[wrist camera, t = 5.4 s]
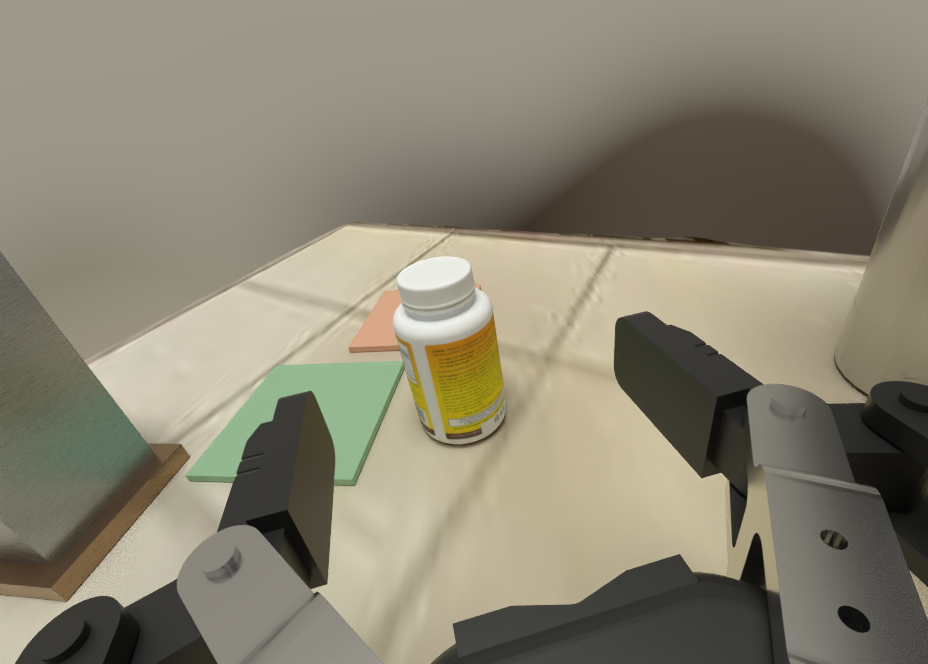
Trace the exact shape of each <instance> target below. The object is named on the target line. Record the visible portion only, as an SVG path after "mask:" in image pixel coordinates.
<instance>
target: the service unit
mask: <svg viewBox="0 0 928 664" xmlns="http://www.w3.org/2000/svg"><path fill="white" fill-rule="evenodd" d="M189 457H190V456H189V455H188V453H187V452H186V450H185V449H184V448H183V446H182V445H181V444H147V443H146V441H145V440H144V439H143V437H142V436H141V435H140V433H139V432H138V431H137V430H136V428H135V427H134V426H133V424H132V423H131V422H130V420H129V419H128V418H127V416H126V415H125V414H124V413H123V411H122V410H121V409H120V407H119V406H118V405H117V403H116V402H115V401H114V399H113V398H112V397H111V396H110V394H109V393H108V392H107V390H106V389H105V388H104V386H103V385H102V384H101V382H100V381H99V380H98V379H97V377H96V376H95V375H94V373H93V372H92V371H91V369H90V368H89V367H88V366H87V364H86V363H85V362H84V360H83V359H82V358H81V356H80V355H79V354H78V352H77V351H76V350H75V349H74V347H73V346H72V345H71V343H70V342H69V341H68V339H67V338H66V337H65V335H64V334H63V333H62V332H61V330H60V329H59V328H58V326H57V325H56V324H55V323H54V321H53V320H52V319H51V317H50V316H49V315H48V313H47V312H46V311H45V309H44V308H43V307H42V305H41V304H40V303H39V301H38V300H37V299H36V298H35V296H34V295H33V294H32V292H31V291H30V290H29V288H28V287H27V286H26V285H25V283H24V282H23V281H22V280H21V278H20V277H19V275H18V274H17V273H16V271H15V270H14V269H13V267H12V266H11V265H10V264H9V262H8V261H7V260H6V258H5V257H4V256H3V254H2V253H1V252H0V594H1V595H10V596H20V597H30V598H39V599H49V600H59V601H67V600H68V599H69V598H70V597H71V596H72V594H73V593H74V592H75V591H76V590H77V589H78V587H79V586H80V585H81V584H82V583H83V581H84V580H85V579H86V578H87V577H88V576H89V574H90V573H91V572H92V571H93V570H94V569H95V567H96V566H97V565H98V564H99V563H100V562H101V560H102V559H103V558H104V557H105V556H106V555H107V553H108V552H109V551H110V550H111V549H112V548H113V546H114V545H115V544H116V543H117V542H118V540H119V539H120V538H121V537H122V536H123V535H124V533H125V532H126V531H127V530H128V529H129V528H130V526H131V525H132V524H133V523H134V522H135V521H136V519H137V518H138V517H139V516H140V515H141V514H142V512H143V511H144V510H145V509H146V508H147V507H148V505H149V504H150V503H151V502H152V501H153V500H154V498H155V497H156V496H157V495H158V494H159V492H160V491H161V490H162V489H163V488H164V487H165V485H166V484H167V483H168V482H169V481H170V480H171V478H172V477H173V476H174V475H175V474H176V473H177V471H178V470H179V469H180V468H181V467H182V466H183V464H184V463H185V462H186V461H187V460H188V459H189Z"/></svg>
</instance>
